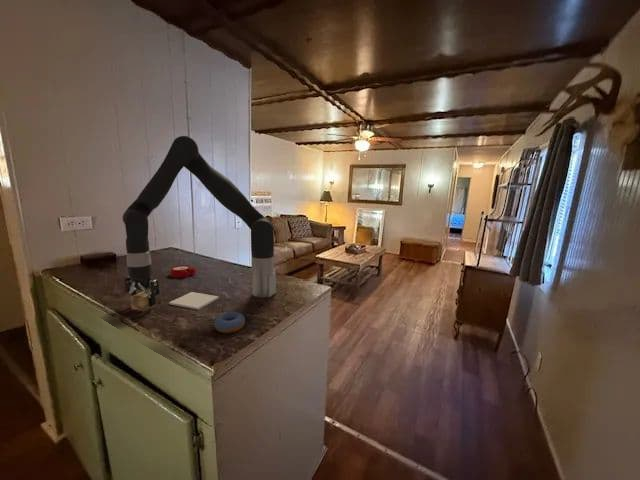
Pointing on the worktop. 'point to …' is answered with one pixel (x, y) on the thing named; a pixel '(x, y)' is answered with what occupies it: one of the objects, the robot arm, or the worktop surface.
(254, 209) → the robot arm
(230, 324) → the doughnut
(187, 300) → the plate
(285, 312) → the worktop surface
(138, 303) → the maple block
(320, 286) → the worktop surface
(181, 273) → the alarm clock
